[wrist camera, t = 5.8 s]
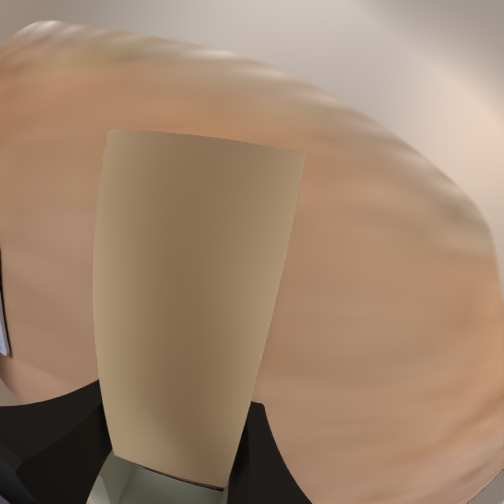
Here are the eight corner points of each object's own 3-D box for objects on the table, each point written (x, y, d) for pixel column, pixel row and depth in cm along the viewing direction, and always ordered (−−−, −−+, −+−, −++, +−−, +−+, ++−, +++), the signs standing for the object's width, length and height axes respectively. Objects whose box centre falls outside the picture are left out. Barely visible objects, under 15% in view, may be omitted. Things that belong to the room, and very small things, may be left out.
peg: (157, 380, 12) (114, 455, 7) (180, 155, 10) (109, 129, 5) (240, 401, 12) (225, 487, 7) (290, 173, 10) (307, 153, 5)
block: (119, 469, 14) (97, 512, 10) (112, 409, 13) (75, 463, 8) (236, 505, 14) (229, 553, 10) (266, 456, 12) (262, 522, 8)
